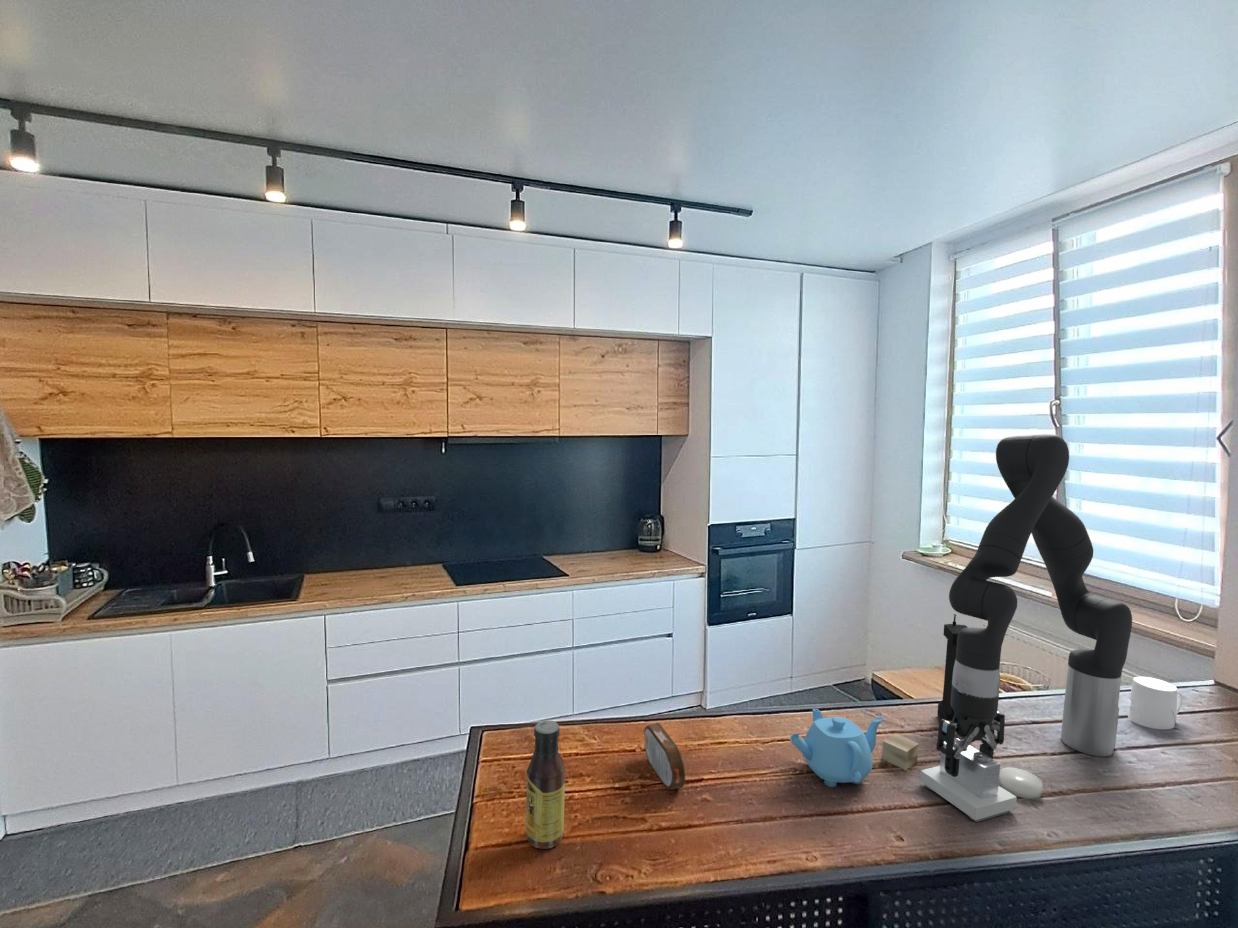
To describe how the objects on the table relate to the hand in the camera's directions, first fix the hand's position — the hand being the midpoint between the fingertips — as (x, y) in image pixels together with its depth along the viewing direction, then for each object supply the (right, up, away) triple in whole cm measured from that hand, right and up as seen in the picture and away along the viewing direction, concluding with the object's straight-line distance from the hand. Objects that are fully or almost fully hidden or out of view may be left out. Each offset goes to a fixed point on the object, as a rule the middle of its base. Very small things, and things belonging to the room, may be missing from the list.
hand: (968, 769), depth 115 cm
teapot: (-22, -5, +8) cm, 24 cm away
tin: (-57, -4, +6) cm, 57 cm away
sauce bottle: (-77, -5, -13) cm, 79 cm away
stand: (0, -6, +1) cm, 6 cm away
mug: (+63, -4, +32) cm, 71 cm away
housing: (0, -3, 0) cm, 3 cm away
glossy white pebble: (+12, -6, +4) cm, 14 cm away
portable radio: (+13, -4, +28) cm, 31 cm away
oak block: (-7, -4, +13) cm, 15 cm away
